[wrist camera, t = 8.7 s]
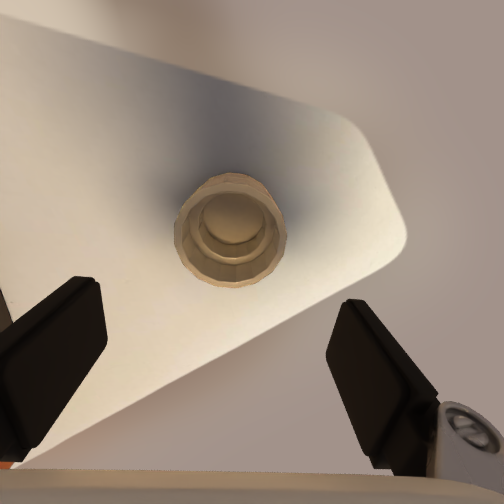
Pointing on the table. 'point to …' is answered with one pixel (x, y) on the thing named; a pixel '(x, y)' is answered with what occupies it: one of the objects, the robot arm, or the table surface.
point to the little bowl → (230, 231)
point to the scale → (4, 315)
